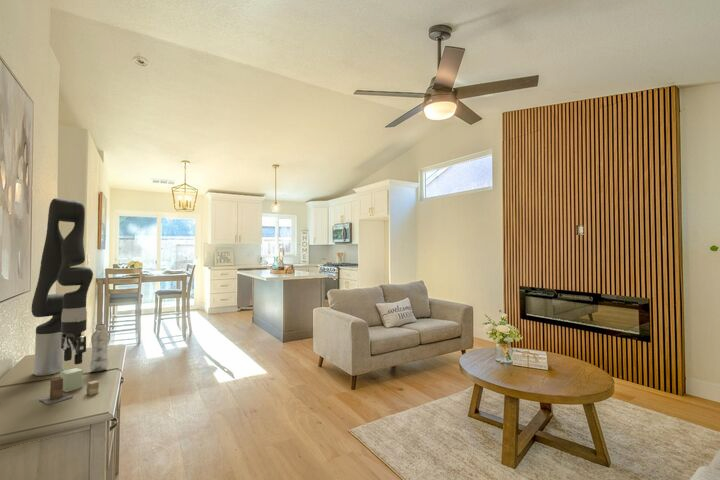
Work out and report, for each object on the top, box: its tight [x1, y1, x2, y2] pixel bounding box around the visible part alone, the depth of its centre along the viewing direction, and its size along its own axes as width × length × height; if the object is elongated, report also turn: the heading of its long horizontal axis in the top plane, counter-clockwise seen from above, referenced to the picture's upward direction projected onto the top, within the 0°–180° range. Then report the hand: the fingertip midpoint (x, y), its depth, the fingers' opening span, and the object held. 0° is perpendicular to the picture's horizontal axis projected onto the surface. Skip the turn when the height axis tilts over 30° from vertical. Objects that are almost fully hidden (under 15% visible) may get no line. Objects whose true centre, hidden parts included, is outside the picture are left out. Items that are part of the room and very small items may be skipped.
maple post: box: [86, 380, 100, 396], centre depth 128 cm, size 3×3×4 cm
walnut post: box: [38, 376, 74, 406], centre depth 123 cm, size 7×7×7 cm
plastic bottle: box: [89, 323, 110, 373], centre depth 152 cm, size 6×7×20 cm
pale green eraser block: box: [59, 367, 84, 393], centre depth 132 cm, size 5×5×7 cm
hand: (72, 362), depth 133 cm, fingers open, 8 cm apart
